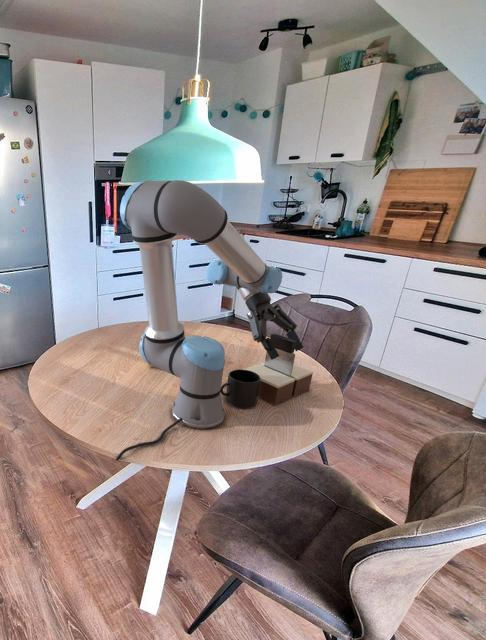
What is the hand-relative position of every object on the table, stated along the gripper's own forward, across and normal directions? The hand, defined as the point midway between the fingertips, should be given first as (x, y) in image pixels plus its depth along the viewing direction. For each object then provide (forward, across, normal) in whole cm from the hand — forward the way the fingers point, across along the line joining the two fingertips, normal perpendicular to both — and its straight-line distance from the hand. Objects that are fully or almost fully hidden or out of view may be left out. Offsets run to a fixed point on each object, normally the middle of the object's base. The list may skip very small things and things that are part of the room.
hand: (287, 353), depth 123 cm
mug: (+7, +17, -12) cm, 22 cm away
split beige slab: (+8, 0, -12) cm, 14 cm away
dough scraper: (+3, 0, -7) cm, 8 cm away
